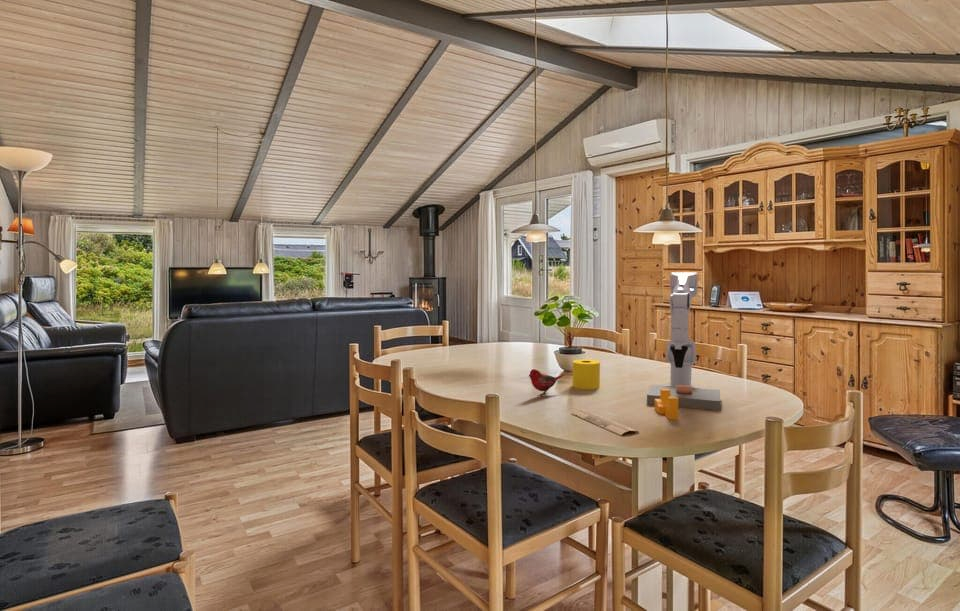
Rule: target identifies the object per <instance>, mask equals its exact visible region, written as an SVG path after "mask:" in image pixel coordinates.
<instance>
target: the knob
mask: <svg viewBox="0 0 960 611" xmlns="http://www.w3.org/2000/svg"><path fill="white" fill-rule="evenodd" d="M692 388H693V387H692V386H689V385H677V386H676V392H678V393H681V394H689V393H692Z"/></svg>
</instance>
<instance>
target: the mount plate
mask: <svg viewBox="0 0 960 611" xmlns="http://www.w3.org/2000/svg"><path fill="white" fill-rule="evenodd" d="M660 389H669V390H670V396H671V397H677V398H678V408H689V409H700V410H701V409H702V410H708V409H710V411H719V410H720V411H721V391H720V389H712V388H701V387H700V388H699V387H692V393H689V394H681V393H678V392H676V387H675V386H669V385H660V384H651V386H650V388H649V391H647V394H646V404H647V405H654V406H655V399H660Z"/></svg>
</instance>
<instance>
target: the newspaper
mask: <svg viewBox="0 0 960 611" xmlns="http://www.w3.org/2000/svg"><path fill="white" fill-rule="evenodd" d="M571 413H572V414H575V415H577V416H579V417H581V418H583V419H582V420H584V419H586V420H588V421H590V422H592V423H591V424H593V423H594V424H593V425H595V424H596V425H595V426H597V425H598V426H597V427H600V426H601V427H600V428H602V427H603V428H602V429H604V428H605V429H604V430H606V429H607V431H609V432H612V433H613V434H615V435H618V436H620V437H622V436H623V434H625V433H628V432H633V433H636V434H639V433H640V431H639V430H636V429H634V428H631V427H629V426H626V425H624V424H622V423H619V422H617V421H614V420H612V419H609V418H608V417H607V418H606V417H605V416H601V415H599V414H597V413H595V412H592V411H590V410H588V409H587V410H586V409H577V410H574V411H573V410H572V412H571ZM572 414H571V415H572ZM575 415H574V416H575ZM577 416H576V417H577ZM579 417H578V418H579ZM581 418H580V419H581ZM586 420H585V421H586ZM588 421H587V422H588ZM590 422H589V423H590Z"/></svg>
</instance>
